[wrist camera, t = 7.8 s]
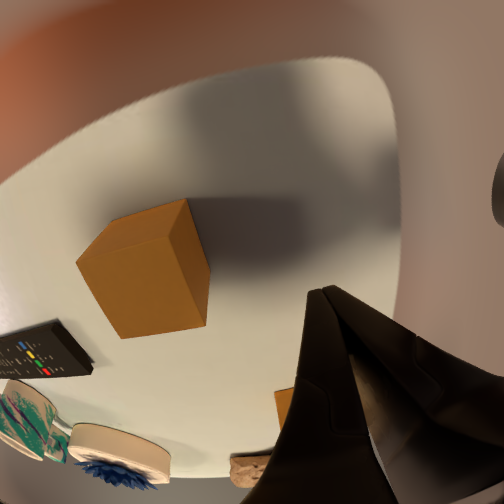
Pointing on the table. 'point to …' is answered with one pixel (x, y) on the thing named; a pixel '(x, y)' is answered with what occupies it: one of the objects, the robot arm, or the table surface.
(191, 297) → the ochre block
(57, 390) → the table surface
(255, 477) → the stone
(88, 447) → the box with blue lotus
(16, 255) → the table surface
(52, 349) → the remote control
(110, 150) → the table surface
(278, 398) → the ochre block middle
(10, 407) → the mug
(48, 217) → the table surface
